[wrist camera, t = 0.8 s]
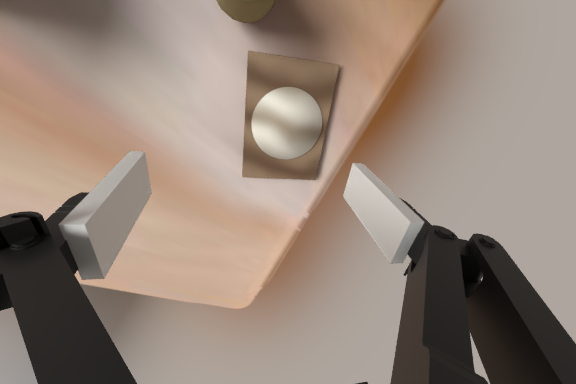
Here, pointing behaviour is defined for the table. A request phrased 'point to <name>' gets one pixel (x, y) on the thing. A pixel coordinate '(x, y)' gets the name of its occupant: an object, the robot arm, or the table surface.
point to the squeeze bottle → (246, 9)
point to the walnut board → (286, 115)
